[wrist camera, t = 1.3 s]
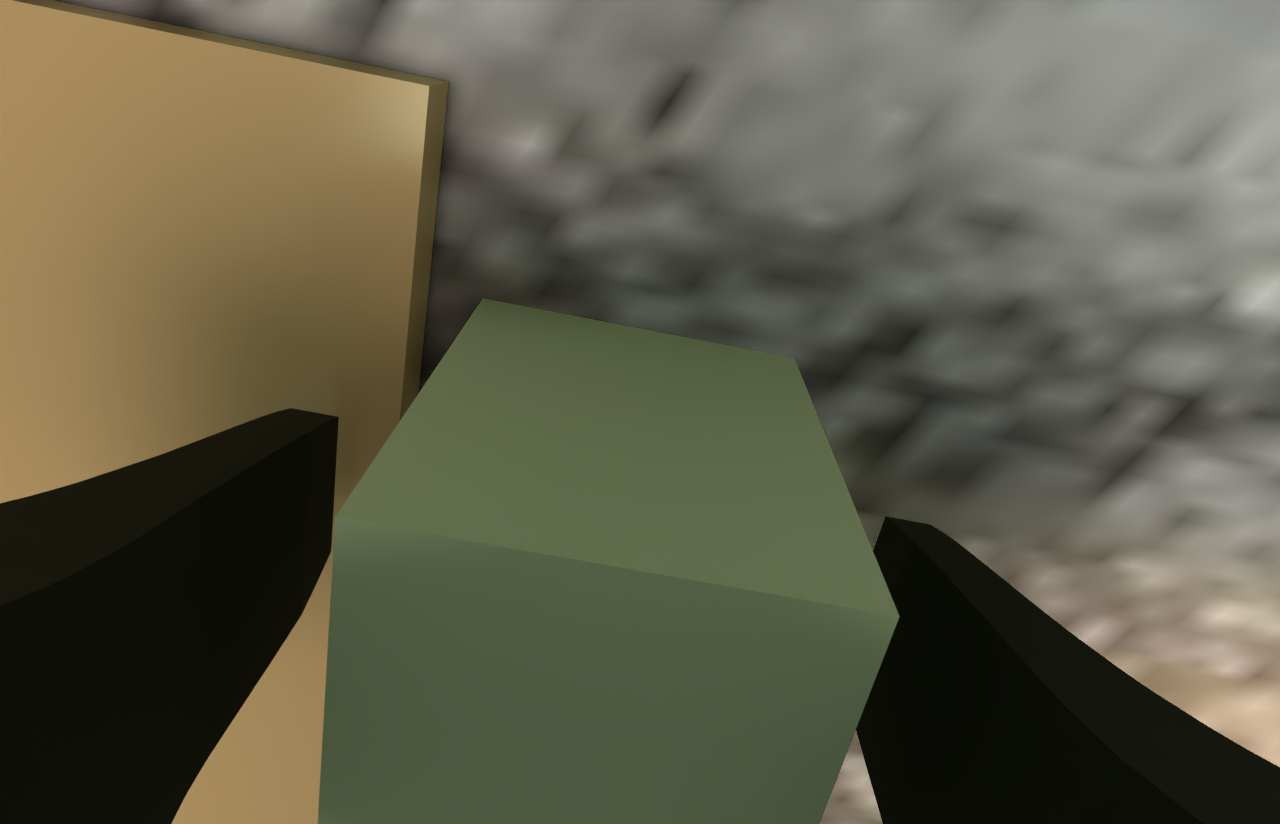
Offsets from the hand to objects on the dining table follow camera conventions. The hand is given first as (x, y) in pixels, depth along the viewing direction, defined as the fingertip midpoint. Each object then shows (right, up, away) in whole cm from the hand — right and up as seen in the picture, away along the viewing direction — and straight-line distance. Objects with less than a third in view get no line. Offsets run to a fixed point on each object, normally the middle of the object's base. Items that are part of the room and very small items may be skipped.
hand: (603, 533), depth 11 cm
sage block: (0, +1, +2) cm, 2 cm away
